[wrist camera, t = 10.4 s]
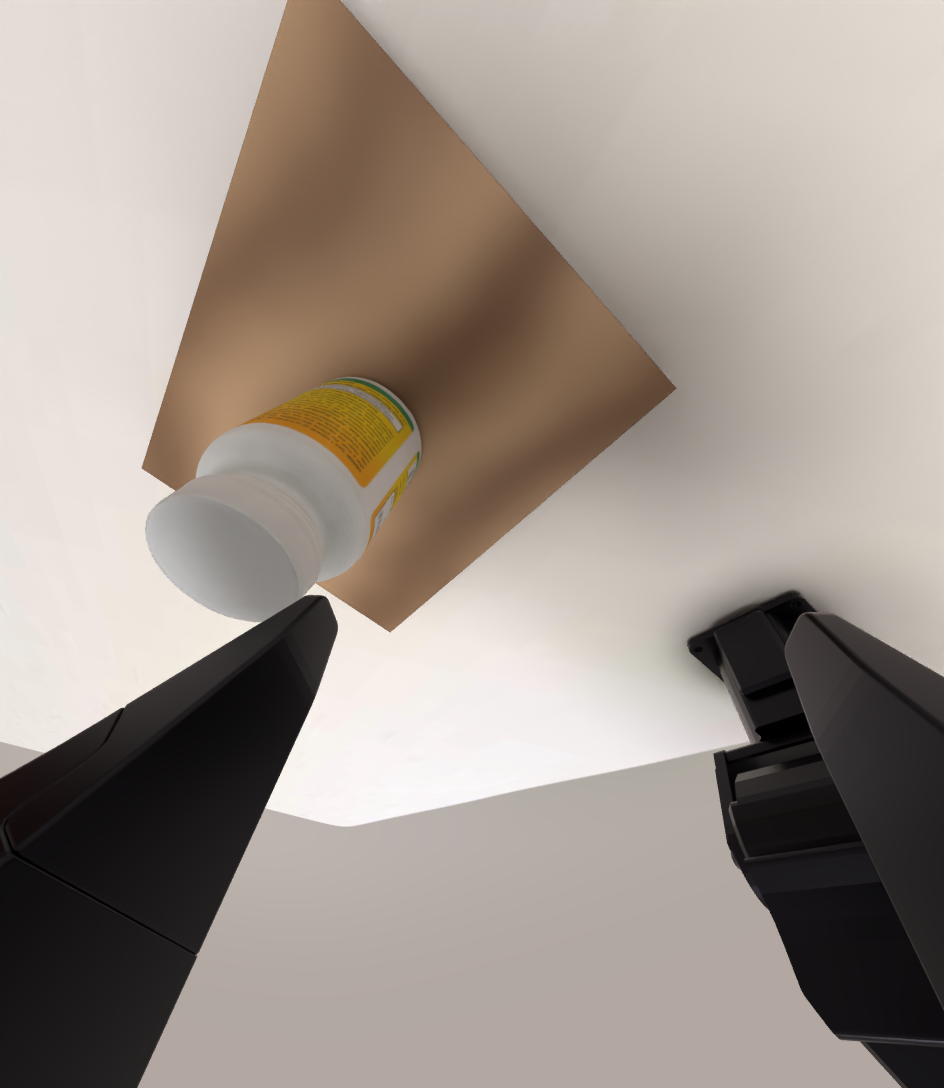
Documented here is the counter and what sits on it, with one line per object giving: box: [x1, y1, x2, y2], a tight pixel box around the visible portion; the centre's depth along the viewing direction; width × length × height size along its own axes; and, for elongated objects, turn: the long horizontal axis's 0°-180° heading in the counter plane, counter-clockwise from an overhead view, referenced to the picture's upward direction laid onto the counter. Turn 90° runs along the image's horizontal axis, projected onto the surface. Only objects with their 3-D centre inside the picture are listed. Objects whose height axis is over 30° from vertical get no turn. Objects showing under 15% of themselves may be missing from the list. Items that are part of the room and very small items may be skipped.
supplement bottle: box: [145, 377, 422, 622], centre depth 14 cm, size 5×5×10 cm
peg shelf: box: [142, 0, 676, 632], centre depth 18 cm, size 16×20×2 cm
